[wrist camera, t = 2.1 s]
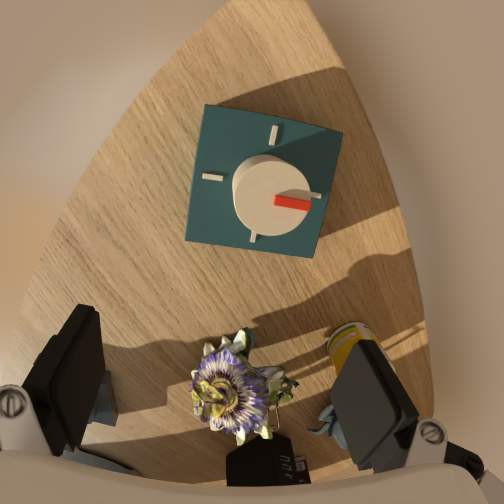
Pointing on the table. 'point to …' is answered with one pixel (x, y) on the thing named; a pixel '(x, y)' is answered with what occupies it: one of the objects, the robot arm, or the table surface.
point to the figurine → (330, 426)
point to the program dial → (270, 195)
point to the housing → (104, 403)
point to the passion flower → (238, 388)
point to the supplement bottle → (349, 343)
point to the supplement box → (302, 470)
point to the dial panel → (237, 151)
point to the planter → (96, 462)
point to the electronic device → (262, 463)
